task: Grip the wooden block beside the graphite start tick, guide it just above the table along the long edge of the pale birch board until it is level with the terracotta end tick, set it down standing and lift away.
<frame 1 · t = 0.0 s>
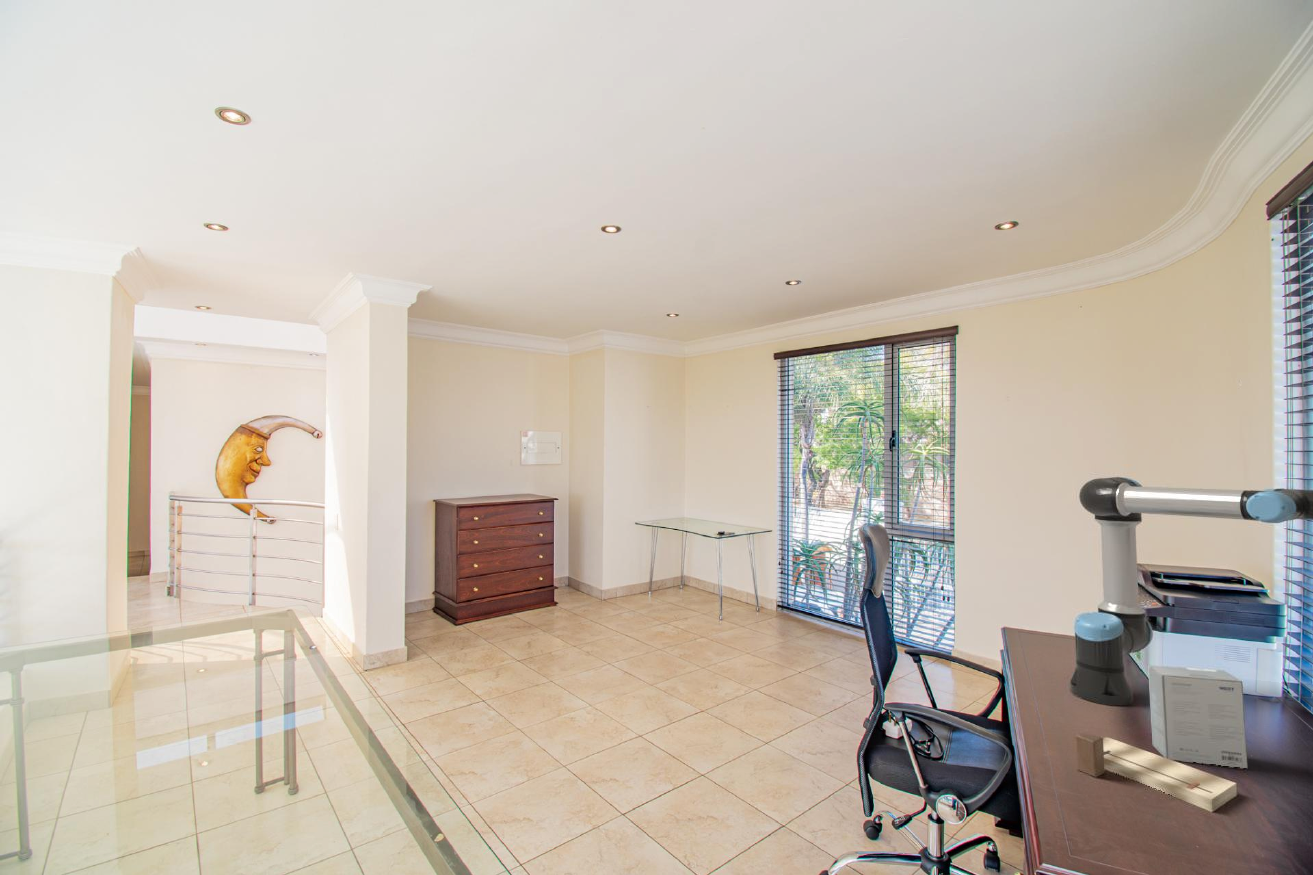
hard drive box: (1197, 758, 141), on the table
wooden block: (1090, 772, 135), on the table
birch board: (1154, 776, 133), on the table
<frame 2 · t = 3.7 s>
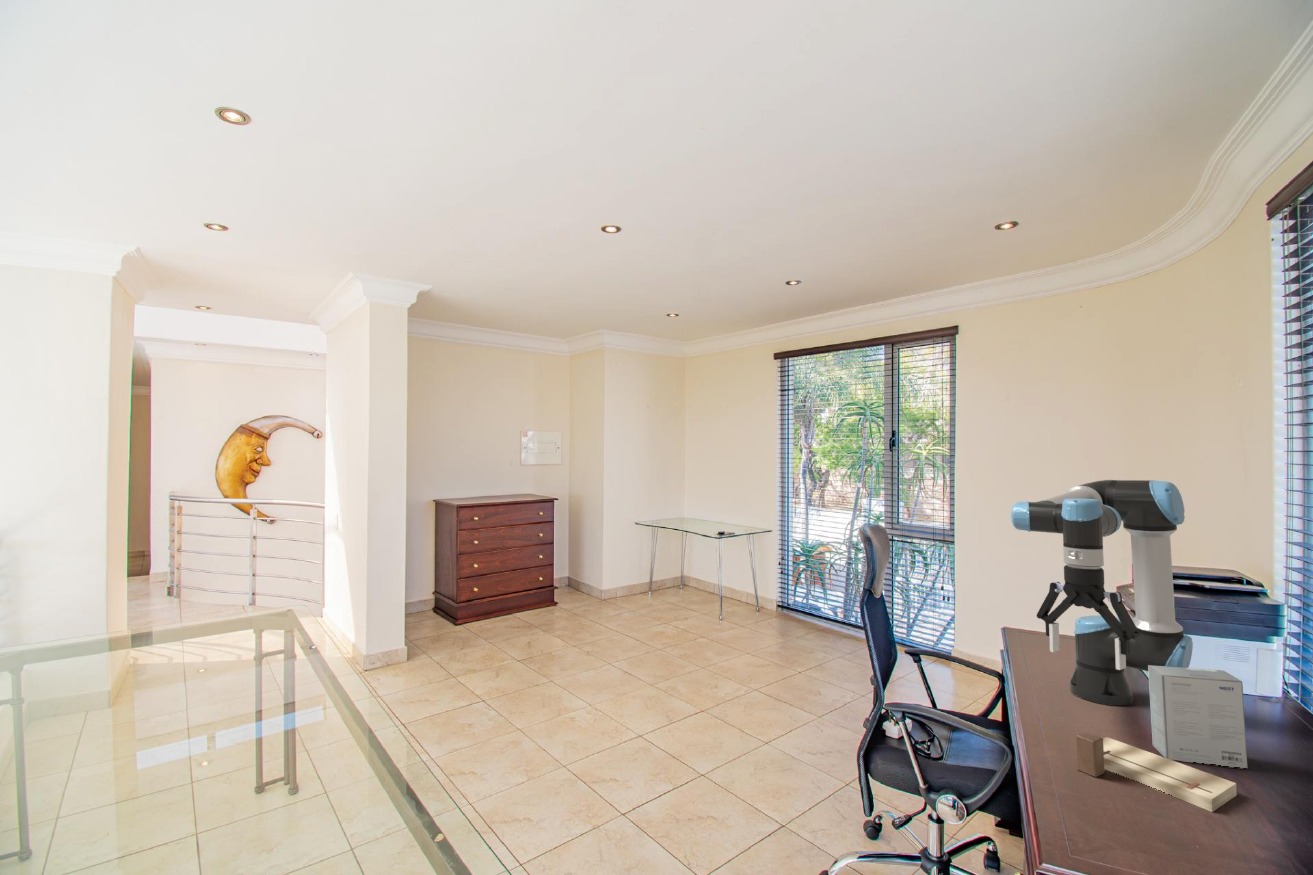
hand: (1086, 659, 136), 25 cm above the table, tool pointing down, fingers open, 13 cm apart
nothing on the table moved.
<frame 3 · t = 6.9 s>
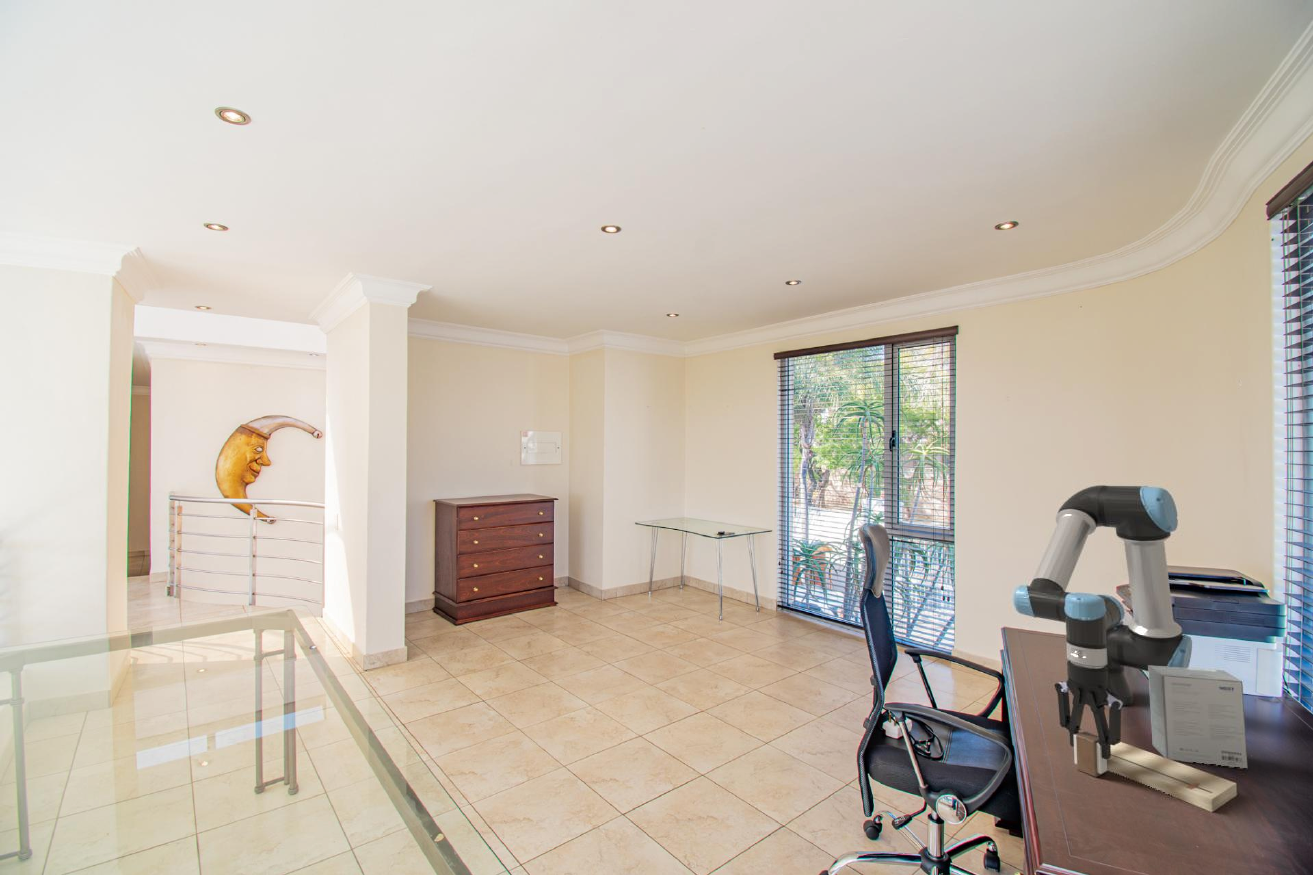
hand: (1090, 766, 135), 1 cm above the table, tool pointing down, fingers closed on wooden block, 4 cm apart
wooden block: (1090, 772, 135), on the table, touching gripper
everything else where it was.
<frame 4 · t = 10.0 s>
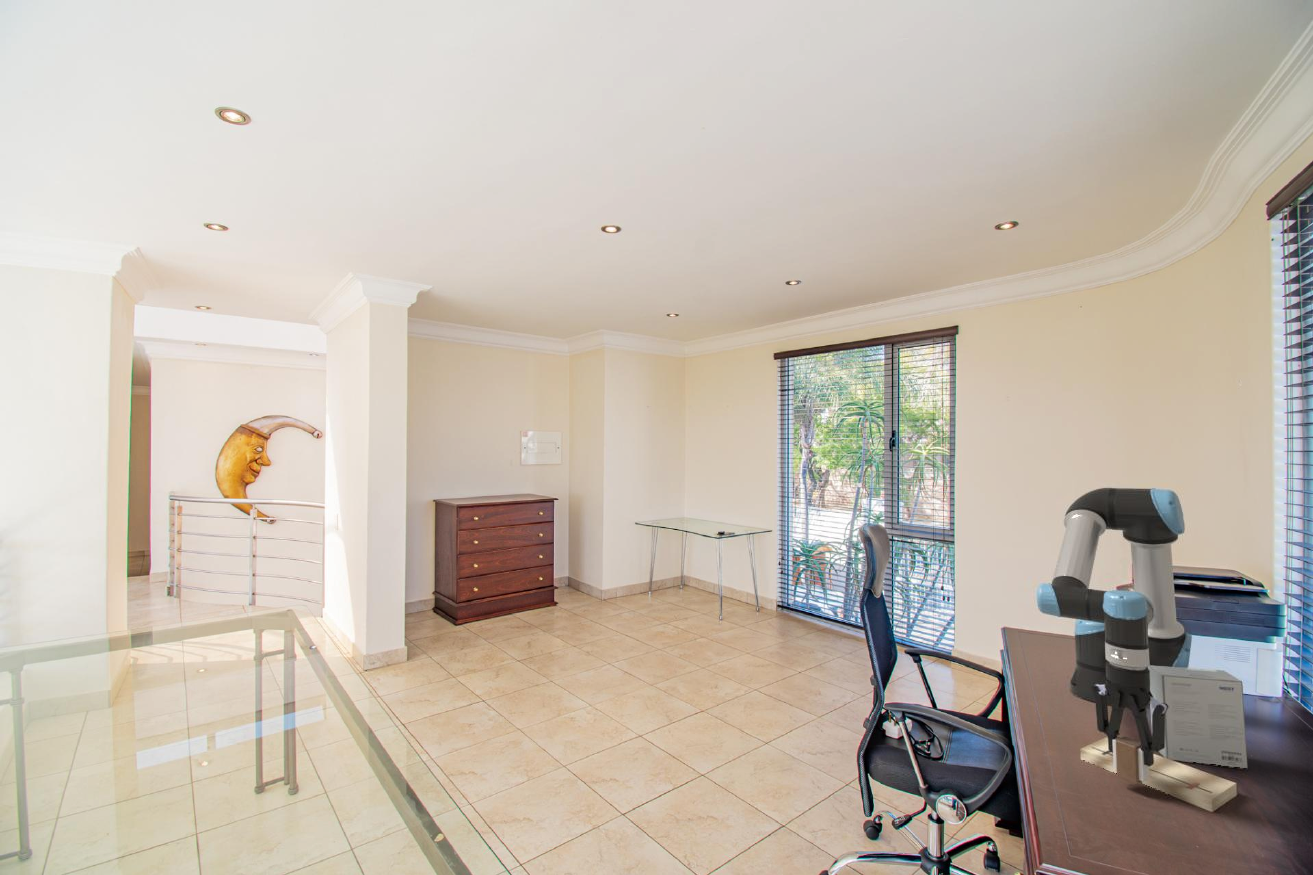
hand: (1131, 773, 129), 3 cm above the table, tool pointing down, fingers closed on wooden block, 4 cm apart
wooden block: (1131, 779, 128), point 2 cm above the table, touching gripper
everything else where it was.
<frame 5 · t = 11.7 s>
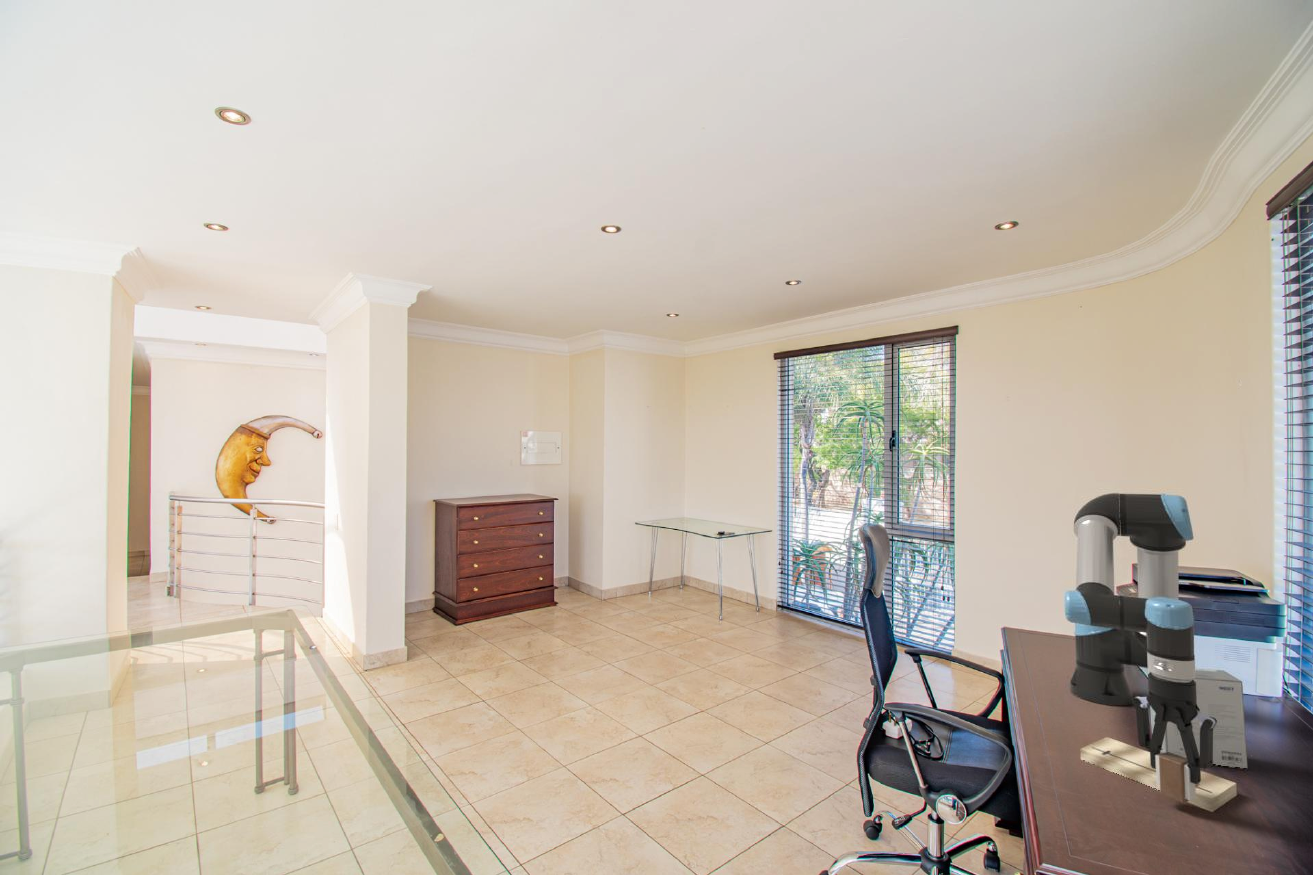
hand: (1175, 791, 122), 3 cm above the table, tool pointing down, fingers closed on wooden block, 4 cm apart
wooden block: (1176, 798, 122), point 2 cm above the table, touching gripper
everything else where it was.
when the fingers open (2 cm above the table, at t = 13.2 s): wooden block stays where it is, on the table.
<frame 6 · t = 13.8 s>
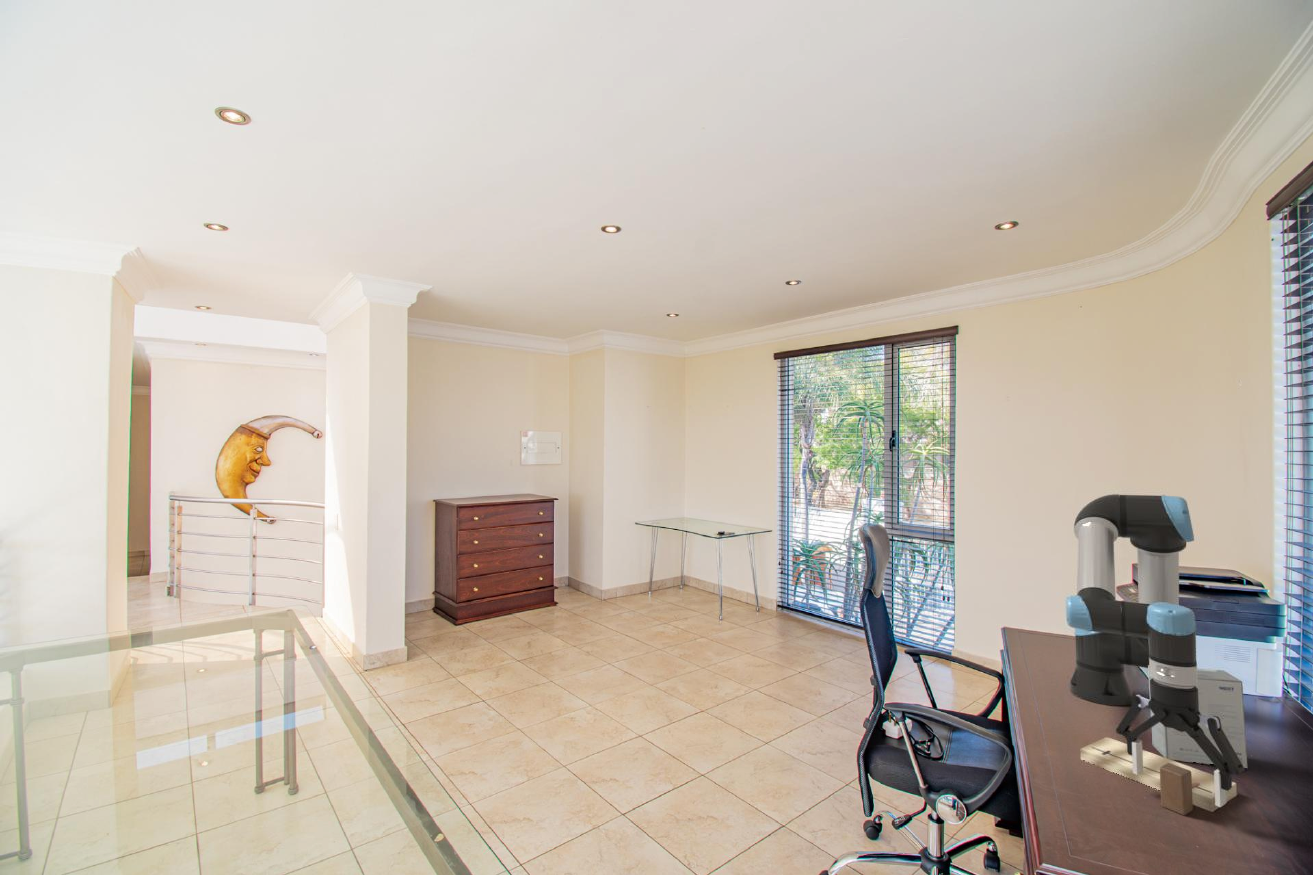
hand: (1177, 787, 122), 4 cm above the table, tool pointing down, fingers open, 13 cm apart
wooden block: (1176, 809, 121), on the table
everything else where it was.
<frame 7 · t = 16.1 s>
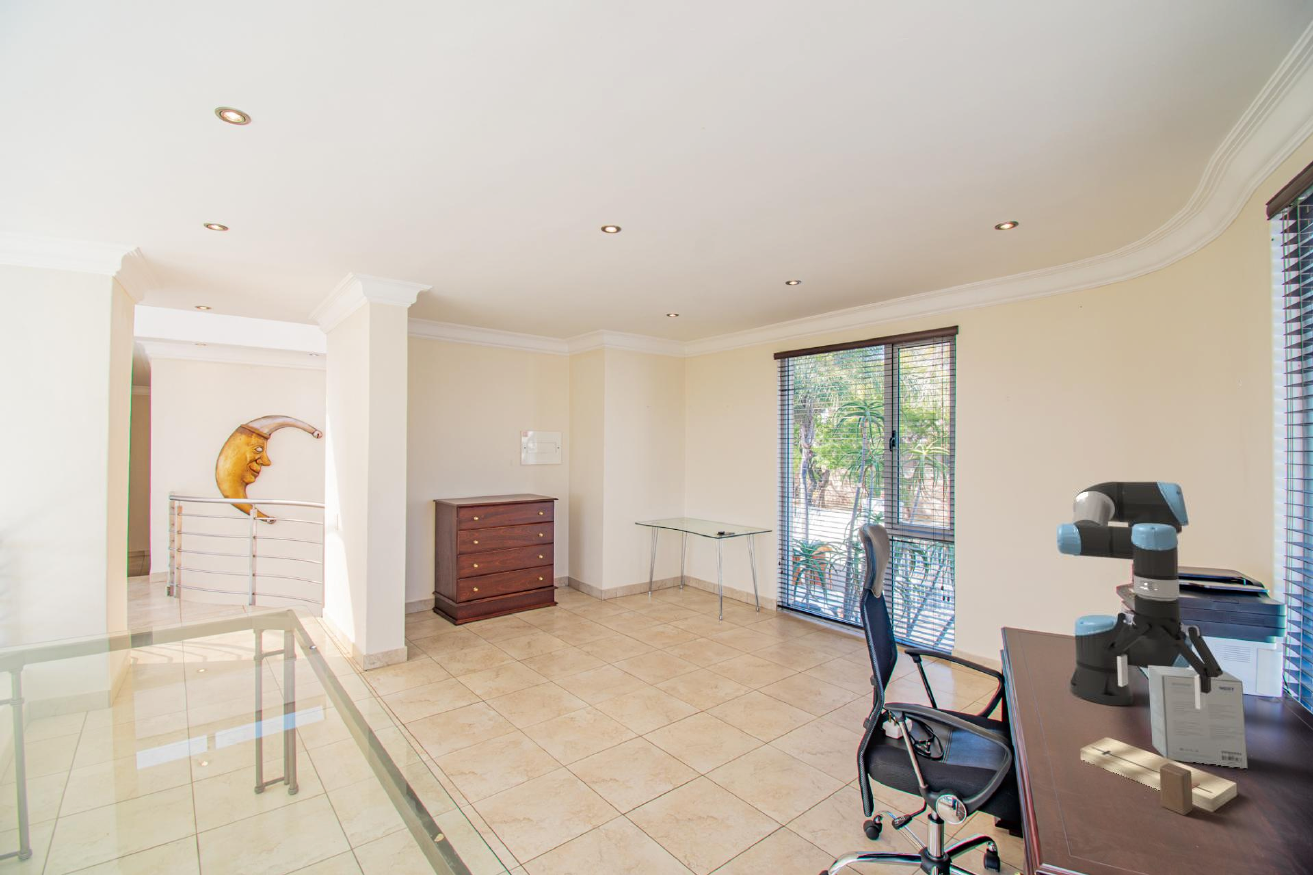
hand: (1160, 695, 128), 20 cm above the table, tool pointing down, fingers open, 13 cm apart
nothing on the table moved.
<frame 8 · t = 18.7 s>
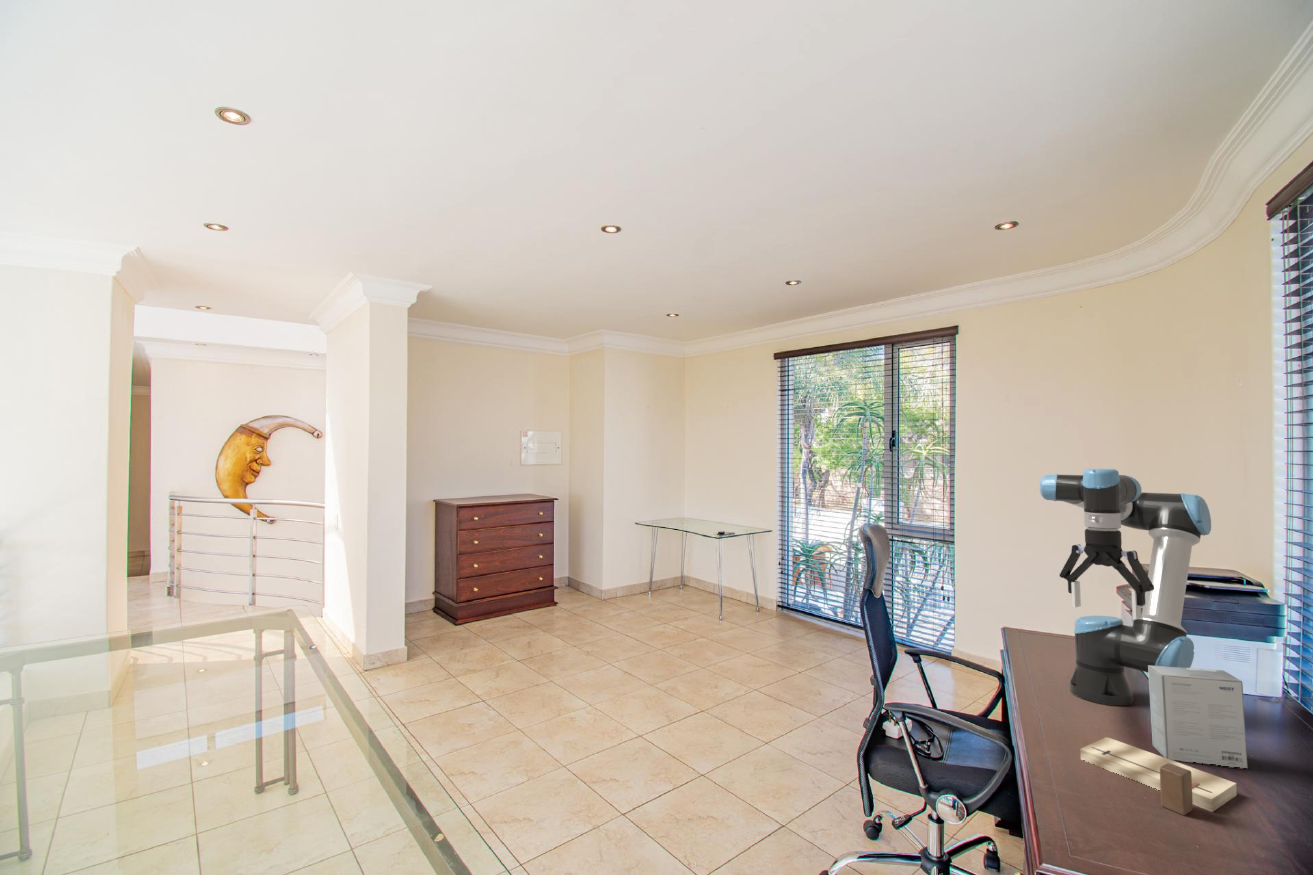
hand: (1105, 612, 152), 32 cm above the table, tool pointing down, fingers open, 13 cm apart
nothing on the table moved.
at the end: wooden block inside the target area (0.6 cm from its centre), on the table; wooden block tilted 0°; the gripper is holding nothing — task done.
